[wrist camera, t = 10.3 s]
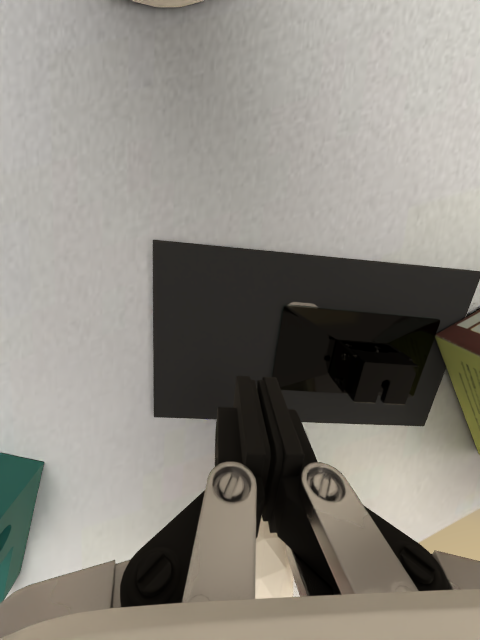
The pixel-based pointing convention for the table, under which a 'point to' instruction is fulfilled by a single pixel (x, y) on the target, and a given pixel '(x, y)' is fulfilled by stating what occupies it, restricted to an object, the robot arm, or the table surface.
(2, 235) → the table surface
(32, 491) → the bracket
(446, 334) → the protein box
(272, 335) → the desk mat
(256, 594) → the geometric ball
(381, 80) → the table surface
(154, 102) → the table surface
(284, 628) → the robot arm
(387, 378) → the build plate
